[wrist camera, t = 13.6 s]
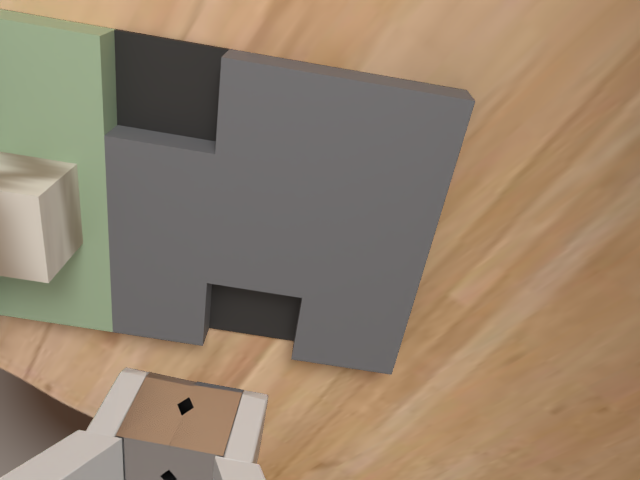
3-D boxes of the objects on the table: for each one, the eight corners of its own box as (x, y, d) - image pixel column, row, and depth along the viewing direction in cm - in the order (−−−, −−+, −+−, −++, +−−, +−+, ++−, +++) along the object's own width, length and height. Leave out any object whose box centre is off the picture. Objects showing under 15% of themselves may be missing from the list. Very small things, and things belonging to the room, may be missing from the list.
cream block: (77, 164, 35) (38, 196, 30) (83, 242, 38) (48, 283, 33) (-17, 148, 35) (-70, 179, 30) (-4, 229, 38) (-50, 268, 33)
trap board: (467, 90, 34) (488, 119, 29) (389, 353, 45) (394, 408, 39) (-50, 0, 33) (-126, 13, 27) (0, 293, 43) (-47, 342, 38)
